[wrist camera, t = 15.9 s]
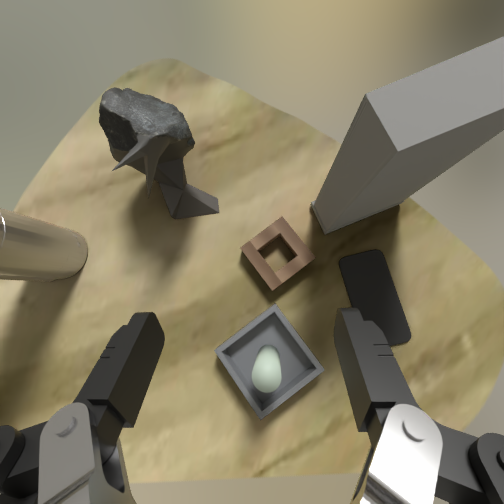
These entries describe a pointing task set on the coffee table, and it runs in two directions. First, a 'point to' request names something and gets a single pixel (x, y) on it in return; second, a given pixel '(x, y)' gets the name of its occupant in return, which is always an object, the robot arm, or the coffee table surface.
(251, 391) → the tray
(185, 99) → the coffee table surface
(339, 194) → the tall grey upright box
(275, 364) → the pale green rounded cylinder
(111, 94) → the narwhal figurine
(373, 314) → the phone
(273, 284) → the brown hollow square block
